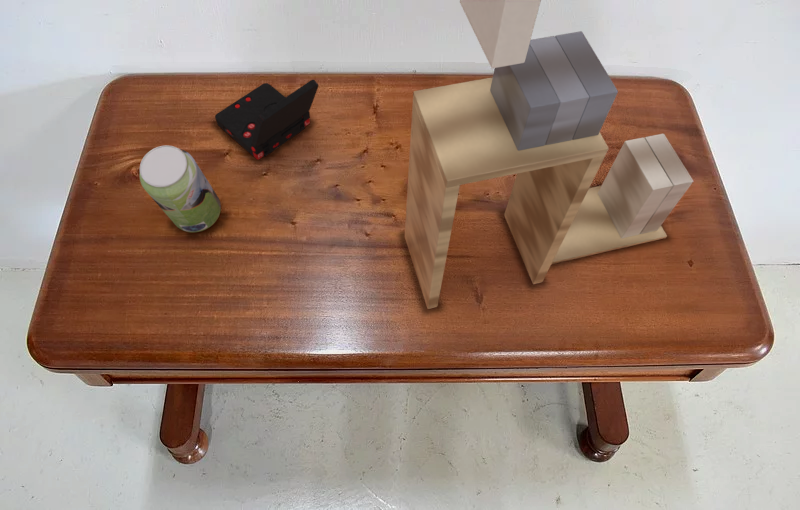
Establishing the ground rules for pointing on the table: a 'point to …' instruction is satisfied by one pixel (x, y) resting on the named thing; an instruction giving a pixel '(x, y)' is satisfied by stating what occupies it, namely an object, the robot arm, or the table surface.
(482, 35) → the white book
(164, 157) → the beverage can
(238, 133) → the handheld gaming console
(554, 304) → the table surface
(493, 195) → the table surface
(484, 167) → the wooden stand
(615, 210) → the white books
